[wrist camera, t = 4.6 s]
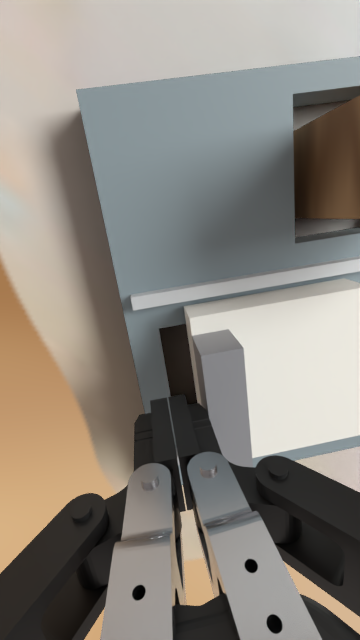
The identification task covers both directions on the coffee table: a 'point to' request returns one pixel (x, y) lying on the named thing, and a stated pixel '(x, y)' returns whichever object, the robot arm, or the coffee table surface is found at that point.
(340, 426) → the lid
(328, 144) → the walnut post
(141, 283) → the puzzle board
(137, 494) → the robot arm
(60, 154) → the coffee table surface
